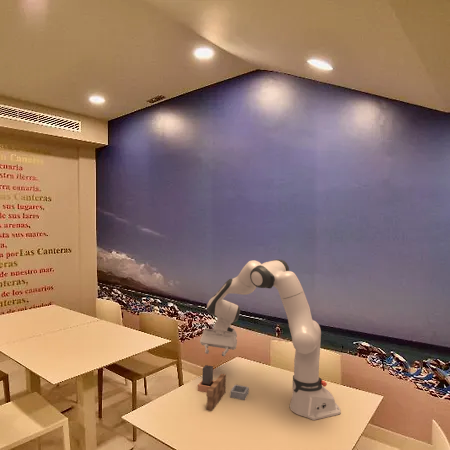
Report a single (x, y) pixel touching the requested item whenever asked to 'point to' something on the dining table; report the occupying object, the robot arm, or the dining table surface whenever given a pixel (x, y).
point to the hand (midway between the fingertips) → (214, 354)
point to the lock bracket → (203, 387)
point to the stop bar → (207, 375)
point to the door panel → (216, 392)
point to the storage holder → (239, 392)
